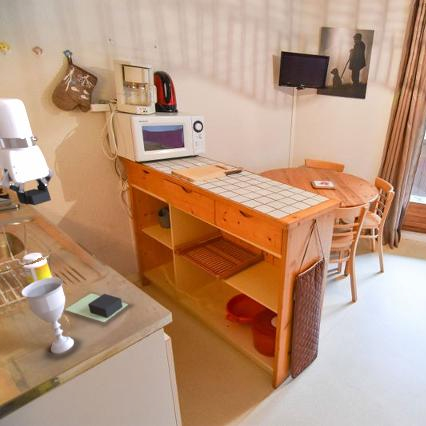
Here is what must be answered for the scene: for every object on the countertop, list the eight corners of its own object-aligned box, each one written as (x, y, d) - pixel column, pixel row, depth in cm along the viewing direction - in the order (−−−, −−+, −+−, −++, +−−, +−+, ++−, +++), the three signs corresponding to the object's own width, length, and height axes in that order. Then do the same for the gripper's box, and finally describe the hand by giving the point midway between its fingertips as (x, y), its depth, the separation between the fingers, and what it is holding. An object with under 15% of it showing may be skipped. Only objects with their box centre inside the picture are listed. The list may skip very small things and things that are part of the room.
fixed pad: (90, 312, 88) (87, 304, 87) (106, 301, 92) (104, 293, 91) (107, 318, 86) (105, 309, 85) (122, 306, 91) (120, 298, 90)
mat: (64, 311, 88) (64, 309, 88) (91, 294, 96) (90, 293, 95) (104, 323, 85) (104, 322, 85) (128, 305, 92) (128, 304, 92)
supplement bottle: (56, 277, 102) (47, 250, 98) (48, 288, 97) (39, 259, 93) (34, 280, 100) (25, 252, 96) (26, 290, 95) (15, 261, 91)
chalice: (61, 362, 73) (40, 299, 66) (36, 356, 74) (12, 294, 67) (88, 339, 80) (71, 279, 73) (64, 334, 81) (45, 275, 74)
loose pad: (19, 202, 98) (16, 193, 97) (37, 197, 103) (34, 188, 102) (34, 205, 97) (31, 196, 96) (51, 200, 102) (48, 191, 100)
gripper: (38, 137, 101) (53, 191, 108) (-28, 146, 86) (-5, 208, 93) (56, 139, 100) (71, 194, 107) (-8, 149, 84) (14, 212, 91)
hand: (35, 200), depth 100 cm, fingers closed on loose pad, 5 cm apart
